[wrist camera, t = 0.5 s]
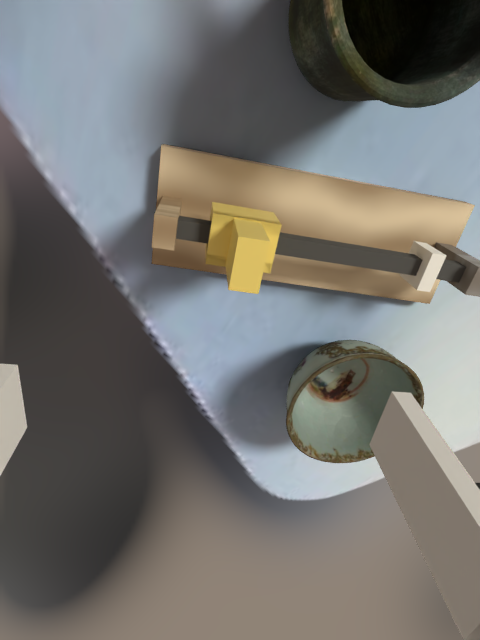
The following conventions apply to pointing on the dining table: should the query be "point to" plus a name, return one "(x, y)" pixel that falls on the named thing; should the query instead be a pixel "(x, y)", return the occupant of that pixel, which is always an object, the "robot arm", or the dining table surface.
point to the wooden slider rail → (309, 220)
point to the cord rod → (331, 251)
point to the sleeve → (242, 244)
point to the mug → (387, 48)
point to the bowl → (344, 399)
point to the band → (425, 266)
